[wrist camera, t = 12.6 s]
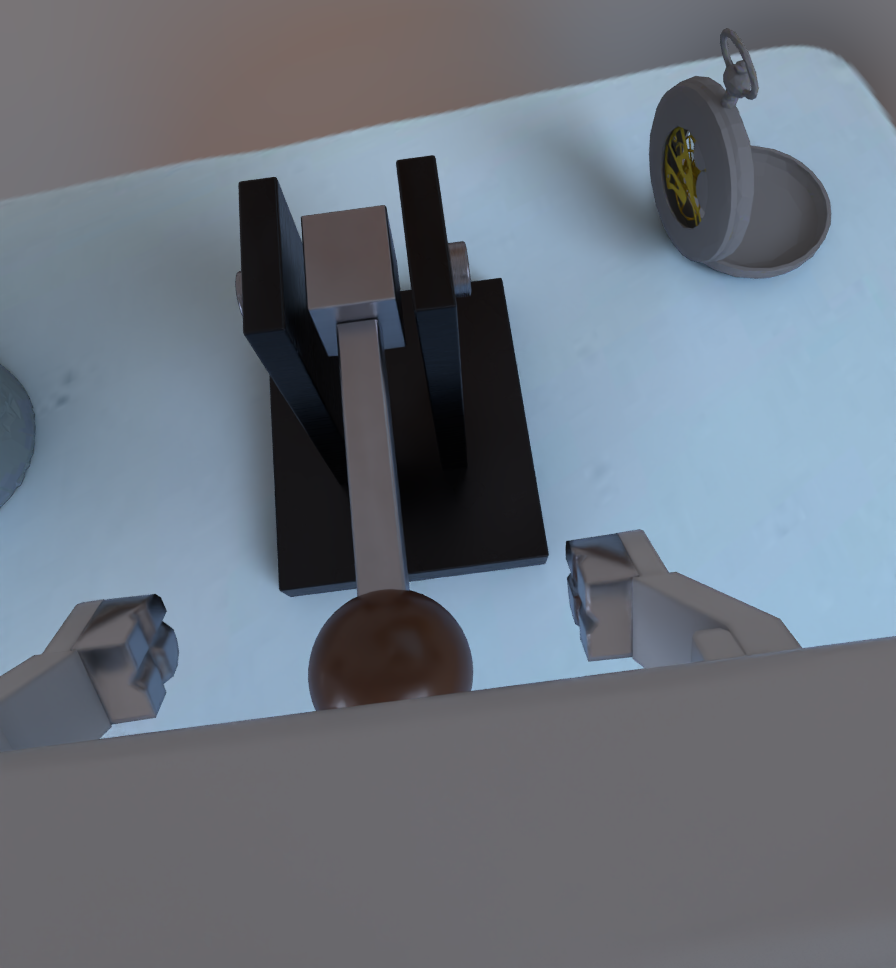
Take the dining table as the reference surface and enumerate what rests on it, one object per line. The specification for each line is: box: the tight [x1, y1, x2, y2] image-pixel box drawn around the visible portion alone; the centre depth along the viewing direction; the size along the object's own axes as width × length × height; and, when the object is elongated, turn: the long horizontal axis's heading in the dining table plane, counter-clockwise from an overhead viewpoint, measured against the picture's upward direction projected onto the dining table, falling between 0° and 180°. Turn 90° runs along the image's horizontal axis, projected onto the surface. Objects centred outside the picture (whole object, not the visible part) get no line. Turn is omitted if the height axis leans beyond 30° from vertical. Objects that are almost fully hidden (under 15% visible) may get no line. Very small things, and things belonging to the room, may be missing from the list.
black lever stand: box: [235, 155, 549, 597], centre depth 23 cm, size 12×10×13 cm
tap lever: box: [301, 205, 473, 711], centre depth 17 cm, size 13×4×4 cm, turn 7°
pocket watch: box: [649, 28, 831, 279], centre depth 27 cm, size 8×8×10 cm
